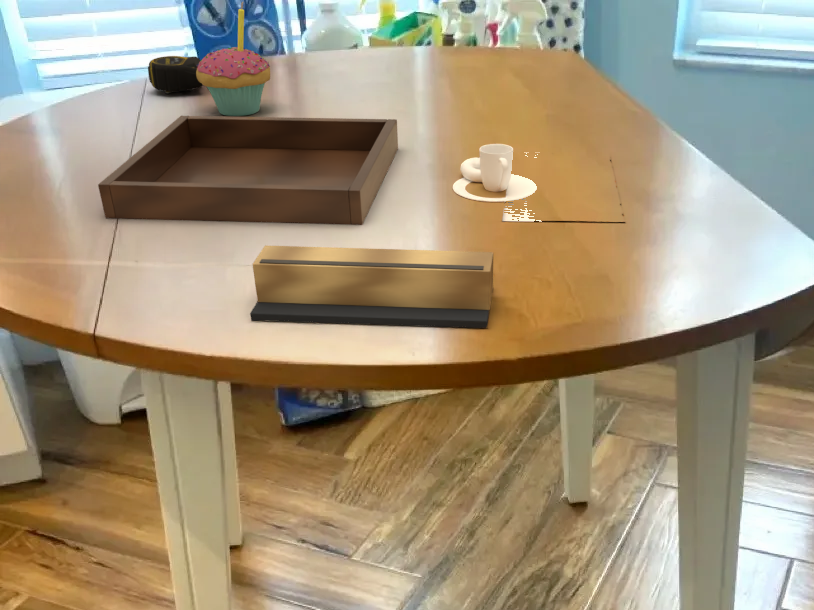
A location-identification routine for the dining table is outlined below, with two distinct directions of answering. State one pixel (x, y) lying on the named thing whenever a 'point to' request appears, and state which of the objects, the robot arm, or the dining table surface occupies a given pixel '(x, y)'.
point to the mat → (370, 315)
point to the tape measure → (174, 73)
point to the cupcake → (235, 76)
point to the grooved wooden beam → (374, 277)
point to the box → (255, 171)
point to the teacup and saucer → (496, 178)
